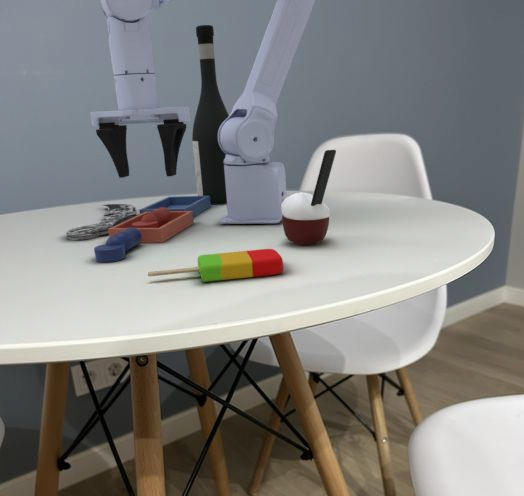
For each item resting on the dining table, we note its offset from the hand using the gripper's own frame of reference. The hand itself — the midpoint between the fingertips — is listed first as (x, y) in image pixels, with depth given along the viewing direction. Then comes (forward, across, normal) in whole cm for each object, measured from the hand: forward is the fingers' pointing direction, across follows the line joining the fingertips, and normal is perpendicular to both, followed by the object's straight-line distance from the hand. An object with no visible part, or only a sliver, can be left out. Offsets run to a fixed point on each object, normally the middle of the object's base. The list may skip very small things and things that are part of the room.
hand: (147, 176), depth 86 cm
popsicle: (+8, +17, -22) cm, 29 cm away
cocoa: (+8, +25, -7) cm, 27 cm away
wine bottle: (+8, +2, +27) cm, 28 cm away
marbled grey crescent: (+9, -12, +9) cm, 17 cm away
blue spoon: (+8, +1, -13) cm, 15 cm away
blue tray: (+8, -2, +15) cm, 17 cm away
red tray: (+8, 0, 0) cm, 8 cm away
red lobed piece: (+8, 0, 0) cm, 8 cm away
